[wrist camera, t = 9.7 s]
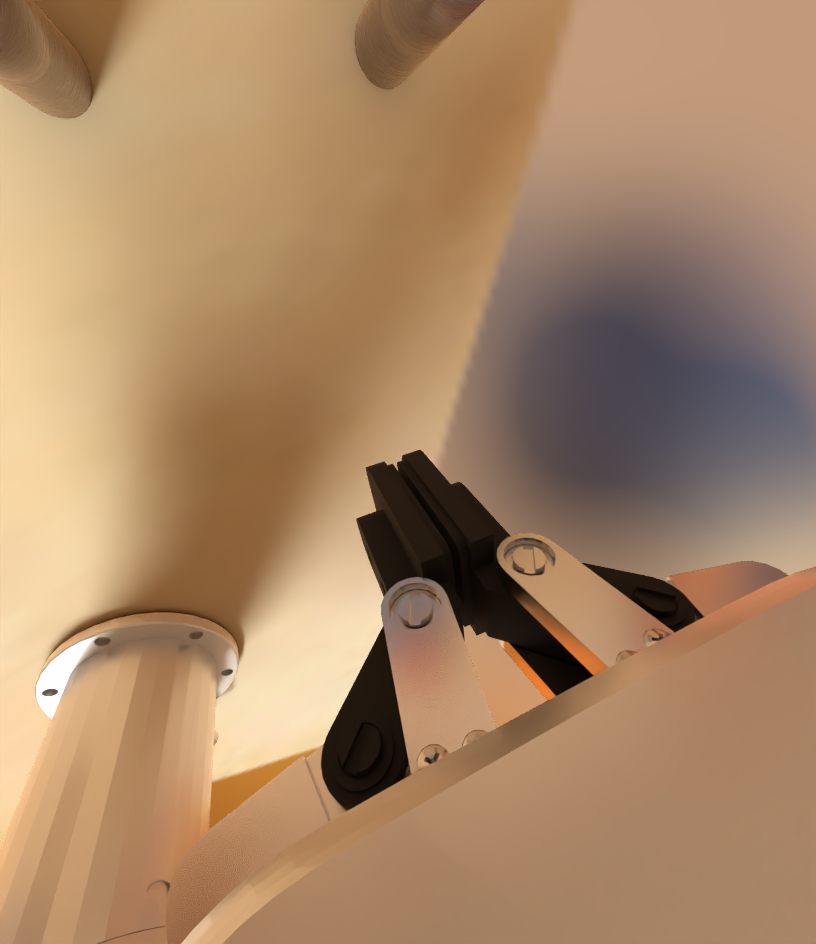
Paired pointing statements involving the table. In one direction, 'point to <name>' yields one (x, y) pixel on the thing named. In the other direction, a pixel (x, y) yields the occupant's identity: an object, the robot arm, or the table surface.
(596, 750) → the robot arm
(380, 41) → the post
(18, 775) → the table surface
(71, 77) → the post
